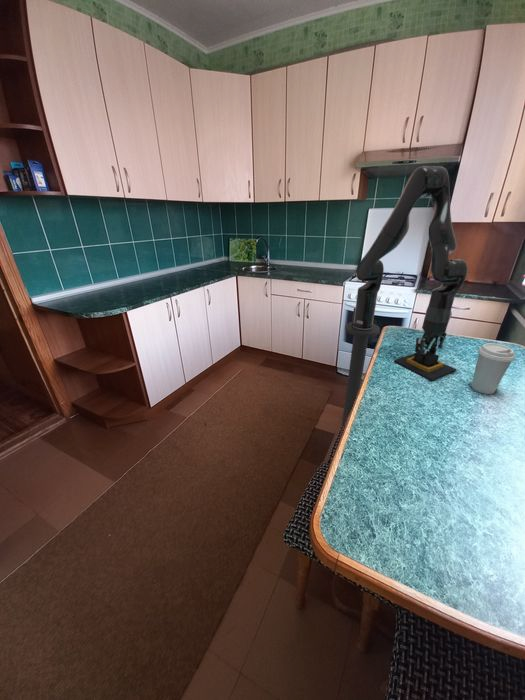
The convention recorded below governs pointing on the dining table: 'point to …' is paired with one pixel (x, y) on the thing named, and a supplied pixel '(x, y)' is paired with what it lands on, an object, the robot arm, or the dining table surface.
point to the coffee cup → (491, 367)
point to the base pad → (425, 368)
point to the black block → (428, 358)
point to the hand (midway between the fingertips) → (425, 359)
